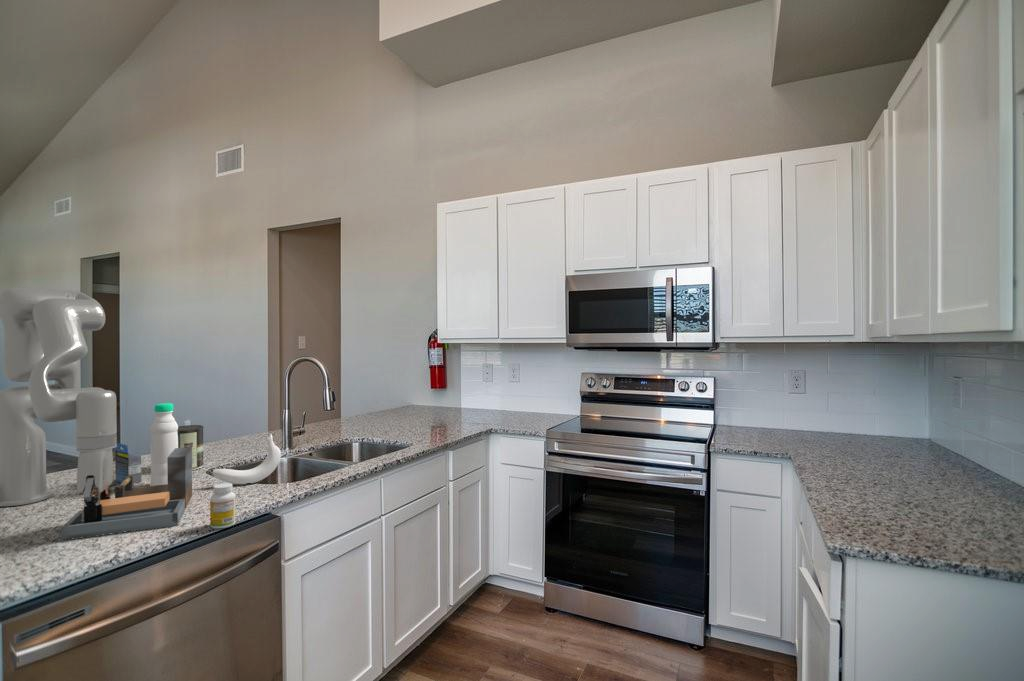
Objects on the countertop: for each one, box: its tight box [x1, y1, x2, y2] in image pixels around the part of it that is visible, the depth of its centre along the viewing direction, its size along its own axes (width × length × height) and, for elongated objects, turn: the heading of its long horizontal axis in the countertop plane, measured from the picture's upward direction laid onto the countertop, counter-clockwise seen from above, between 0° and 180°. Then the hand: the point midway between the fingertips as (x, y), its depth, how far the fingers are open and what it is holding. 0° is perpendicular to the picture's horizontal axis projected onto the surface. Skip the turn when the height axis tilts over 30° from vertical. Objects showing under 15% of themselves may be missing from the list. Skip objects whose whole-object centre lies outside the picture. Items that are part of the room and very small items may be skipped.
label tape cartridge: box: [114, 442, 142, 485], centre depth 160 cm, size 9×4×12 cm, turn 59°
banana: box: [212, 432, 282, 485], centre depth 159 cm, size 5×19×15 cm, turn 128°
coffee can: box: [177, 424, 205, 471], centre depth 176 cm, size 10×10×14 cm
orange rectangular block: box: [82, 492, 170, 517], centre depth 125 cm, size 16×6×2 cm, turn 115°
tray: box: [60, 499, 186, 541], centre depth 125 cm, size 22×12×3 cm, turn 115°
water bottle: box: [149, 402, 179, 486], centre depth 157 cm, size 7×7×25 cm
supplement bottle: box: [209, 482, 237, 529], centre depth 125 cm, size 5×5×10 cm
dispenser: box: [114, 447, 193, 510], centre depth 138 cm, size 16×12×14 cm
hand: (97, 517), depth 123 cm, fingers closed on orange rectangular block, 5 cm apart
